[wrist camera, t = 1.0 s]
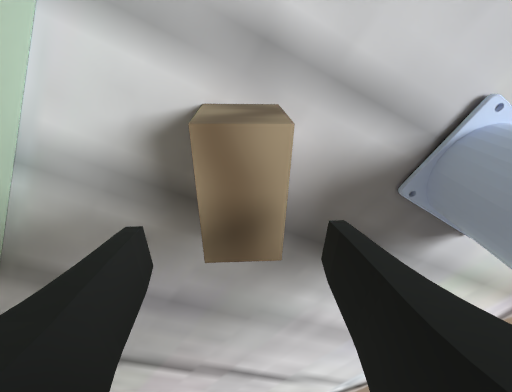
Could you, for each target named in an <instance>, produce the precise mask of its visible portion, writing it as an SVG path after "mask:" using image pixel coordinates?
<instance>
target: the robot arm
mask: <svg viewBox="0 0 512 392" xmlns="http://www.w3.org/2000/svg"><path fill="white" fill-rule="evenodd" d="M497 105H498V106H497ZM496 106H497V108H496V109H495V107H496ZM411 191H412V193H411V194H409V193H410V192H411ZM398 192H399V194H400V195H402V196H403V197H405V198H406V199H408V200H409V201H411V202H413V203H414V204H416V205H418V206H419V207H421V208H422V209H424V210H426V211H427V212H429V213H430V214H432V215H434V216H435V217H437V218H439V219H440V220H442V221H443V222H445V223H447V224H448V225H450V226H452V227H453V228H455V229H456V230H458V231H460V232H461V233H463V234H464V235H466V236H468V237H469V238H472V239H473V240H475V241H476V242H477V243H478V244H480V245H481V246H482V247H484V248H485V249H486V250H487V251H489V252H490V253H491V254H493V255H494V256H495V257H497V258H498V259H499V260H500V261H502V262H503V263H504V264H506V265H507V266H508V267H509V268H511V269H512V105H511V104H510V103H509V102H508V101H507V100H506V99H505V98H504V97H503V96H502V95H500V94H490V95H488V96H487V97H486V98H485V99H484V100H483V101H482V102H481V103H480V104H479V105H478V106H477V107H476V108H475V109H474V110H473V111H472V112H471V113H470V114H469V115H468V116H467V117H466V118H465V120H464V121H463V122H462V123H461V124H460V125H459V126H458V127H457V128H456V129H455V130H454V131H453V132H452V133H451V134H450V135H449V136H448V137H447V138H446V139H445V140H444V141H443V142H442V143H441V144H440V145H439V146H438V148H437V149H436V150H435V151H434V152H433V153H432V154H431V155H430V156H429V157H428V158H427V159H426V160H425V161H424V162H423V163H422V164H421V165H420V166H419V167H418V168H417V169H416V170H415V171H414V172H413V173H412V174H411V176H410V177H409V178H408V179H407V180H406V181H405V182H404V183H403V184H402V185H401V186H400V187H399V189H398ZM321 260H322V263H323V267H324V271H325V274H326V277H327V281H328V284H329V286H330V288H331V291H332V293H333V295H334V298H335V300H336V303H337V305H338V307H339V309H340V312H341V314H342V316H343V319H344V321H345V323H346V326H347V328H348V330H349V333H350V335H351V337H352V340H353V342H354V345H355V347H356V350H357V353H358V356H359V359H360V362H361V365H362V368H363V371H364V374H365V377H366V380H367V383H368V387H369V390H370V392H512V324H509V323H507V322H505V321H503V320H501V319H499V318H497V317H495V316H494V315H492V314H490V313H488V312H486V311H484V310H482V309H480V308H478V307H476V306H474V305H472V304H470V303H468V302H467V301H465V300H463V299H461V298H459V297H457V296H456V295H454V294H452V293H451V292H449V291H447V290H445V289H444V288H442V287H440V286H438V285H437V284H435V283H433V282H432V281H430V280H428V279H427V278H425V277H424V276H422V275H421V274H419V273H417V272H416V271H414V270H413V269H411V268H410V267H408V266H407V265H405V264H404V263H402V262H401V261H399V260H398V259H397V258H395V257H394V256H392V255H391V254H389V253H388V252H387V251H385V250H384V249H383V248H381V247H380V246H378V245H377V244H376V243H374V242H373V241H372V240H370V239H369V238H368V237H366V236H365V235H364V234H362V233H361V232H360V231H358V230H357V229H356V228H354V227H353V226H352V225H350V224H349V223H347V222H346V221H344V220H340V221H329V224H328V229H327V233H326V238H325V243H324V248H323V253H322V258H321ZM152 269H153V263H152V259H151V256H150V252H149V248H148V245H147V241H146V237H145V233H144V230H143V226H139V227H125V228H124V229H122V230H121V231H119V232H118V233H117V234H115V235H114V236H113V237H111V238H110V239H109V240H107V241H106V242H105V243H103V244H102V245H101V246H100V247H98V248H97V249H96V250H94V251H93V252H92V253H90V254H89V255H88V256H86V257H85V258H84V259H82V260H81V261H80V262H78V263H77V264H76V265H74V266H73V267H72V268H70V269H69V270H67V271H66V272H65V273H63V274H62V275H60V276H59V277H58V278H56V279H55V280H53V281H52V282H50V283H49V284H48V285H46V286H45V287H43V288H42V289H41V290H39V291H38V292H36V293H35V294H33V295H32V296H30V297H28V298H27V299H25V300H24V301H22V302H21V303H19V304H18V305H16V306H14V307H13V308H11V309H9V310H8V311H6V312H5V313H3V314H1V315H0V392H109V391H110V388H111V384H112V381H113V378H114V374H115V371H116V368H117V365H118V362H119V360H120V357H121V354H122V351H123V349H124V347H125V344H126V342H127V339H128V337H129V334H130V332H131V329H132V327H133V324H134V322H135V319H136V317H137V315H138V312H139V310H140V307H141V305H142V302H143V299H144V297H145V294H146V292H147V288H148V285H149V281H150V277H151V273H152Z"/></svg>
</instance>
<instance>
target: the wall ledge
mask: <svg viewBox="0 0 512 392" xmlns="http://www.w3.org/2000/svg"><path fill="white" fill-rule="evenodd" d="M35 4H36V0H0V259H1V252H2V244H3V237H4V230H5V222H6V215H7V208H8V201H9V193H10V186H11V179H12V172H13V164H14V157H15V150H16V142H17V135H18V128H19V121H20V113H21V106H22V99H23V92H24V84H25V77H26V70H27V62H28V55H29V48H30V41H31V33H32V26H33V19H34V12H35Z"/></svg>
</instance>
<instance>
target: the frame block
mask: <svg viewBox="0 0 512 392" xmlns="http://www.w3.org/2000/svg"><path fill="white" fill-rule="evenodd" d="M188 124H189V133H190V141H191V150H192V158H193V167H194V175H195V183H196V192H197V200H198V209H199V217H200V225H201V234H202V242H203V251H204V259H205V263H216V262H246V261H276V260H282V249H283V239H284V228H285V218H286V208H287V197H288V187H289V176H290V166H291V156H292V145H293V135H294V123H293V121H292V120H291V119H290V118H289V117H288V115H287V114H286V113H285V112H284V111H283V109H282V108H281V107H280V106H279V105H278V104H202V106H201V107H200V109H199V110H198V111H197V113H196V114H195V115H194V117H193V118H192V119H191V121H190V122H189V123H188Z"/></svg>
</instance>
